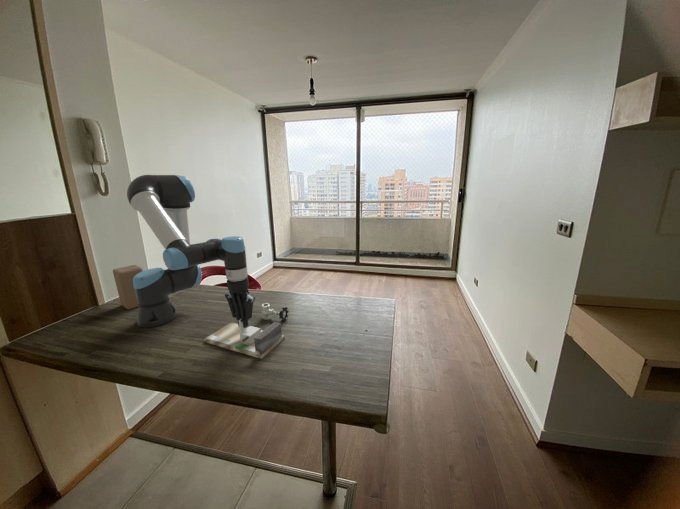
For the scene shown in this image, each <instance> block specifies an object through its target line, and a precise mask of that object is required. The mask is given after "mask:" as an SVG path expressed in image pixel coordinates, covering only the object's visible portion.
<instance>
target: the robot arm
mask: <svg viewBox="0 0 680 509" xmlns="http://www.w3.org/2000/svg"><path fill="white" fill-rule="evenodd" d="M126 191H127V192H126V197H127V200H128V203H129V204H130V206H131V207H132V209H133V210H134V211H137V212H139V214H140V216H142V217H143V220H144V221H145V223H146V224H147V225H148V227H149V228H150V230H151V231H152V232H153V234H154V235H155V237H156V239H157V240H158V241H159V243H160V244H161V245H162V247H163V248H164V250H163V252H162V259H163V262H164V265H165V267H166V268H167V269H164V268H162V267H154V268H149V269H148V268H147V269H145V270H143V271H142V272H140V273H138V274H137V275H135V276H134V278H133V285H134V289H135V293H136V297H137V302H138V311H137V317H136V322H137V326H138V327H140V328H153V327H158V326H162V325H165V324H167V323H170V322H172V321H173V320H174V319H176V318H177V316H178V313H177V310H176V308H175V306H174V304H172V302H171V300H170V295H171V294H174V293H177V292H181V291H184V290H185V291H186V290H188V289H191V288H194V287H196V286H198V285H199V284H200V283H201V281H202V277H203V275H202V274H203V272H202V270H201V266H200V265H202V264H207V263H211V262H215V261H222V262H223V263H224V269H225V271H224V272H225V278H226V284H227V290H228V292H227V293H225V294H224V297H225V299H226V301H227V303H228V307H229V310H230V313H231V316H232V318H235V319H236V320H237V324H238V326H239V329H240V333H241V332H243V331H244V330H245V329H247V328H248V327H249V322H248V321H249V320H250V319H251V318H252V317H253V311H254V310H253V308H254V301H255V300H256V296H252V295H250V291H249V287H250V282H249V277H248V276H249V272H248V266H247V256H246V255H247V254H246V253H247V252H246V246H245V241H244V238H243V237H241V236H239V235H238V236H237V235H236V236H226V237H223V238H222V239H220V238H210V239H207V240H206V241H203V242H198V243H193V244H191V239H190V238H191V237H190V228H189V219H188V210H189V209H190V208H191V203H193V202H195V200H196V193H195V191H196V190H195V188H194V186H193V184H192V182H191V180H190V179H189V178H188V177H186V176H184V175H178V174H177V175H176V174H142V175H140V176H137V177H135V178H134V179H132V181H131V182H130V183H129V185H128V186H127V190H126Z"/></svg>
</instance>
